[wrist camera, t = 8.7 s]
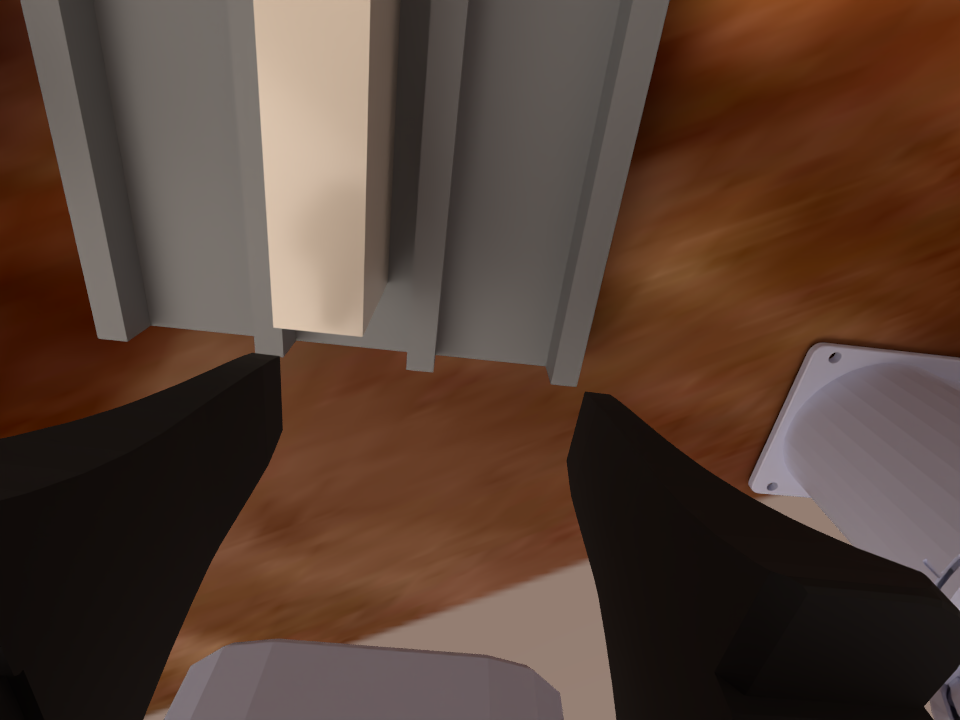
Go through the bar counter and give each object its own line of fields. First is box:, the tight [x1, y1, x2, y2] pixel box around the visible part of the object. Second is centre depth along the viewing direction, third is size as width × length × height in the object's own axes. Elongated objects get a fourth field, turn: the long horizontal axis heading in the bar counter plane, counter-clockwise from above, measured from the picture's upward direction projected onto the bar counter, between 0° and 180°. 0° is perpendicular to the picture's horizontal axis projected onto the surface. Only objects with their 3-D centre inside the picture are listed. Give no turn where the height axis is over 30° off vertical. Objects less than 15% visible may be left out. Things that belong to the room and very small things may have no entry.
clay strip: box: [253, 0, 401, 337], centre depth 14 cm, size 14×2×5 cm, turn 173°
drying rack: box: [20, 0, 669, 387], centre depth 16 cm, size 18×20×3 cm
